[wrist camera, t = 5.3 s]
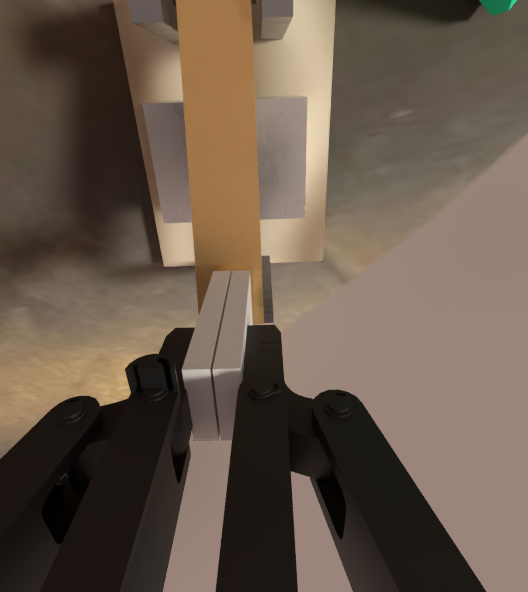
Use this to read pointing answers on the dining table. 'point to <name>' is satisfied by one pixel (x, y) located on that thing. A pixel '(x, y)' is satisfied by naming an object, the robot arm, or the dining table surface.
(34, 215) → the dining table surface
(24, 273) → the dining table surface
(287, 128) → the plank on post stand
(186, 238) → the board
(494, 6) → the camera mount
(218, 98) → the tan wooden flat bar
